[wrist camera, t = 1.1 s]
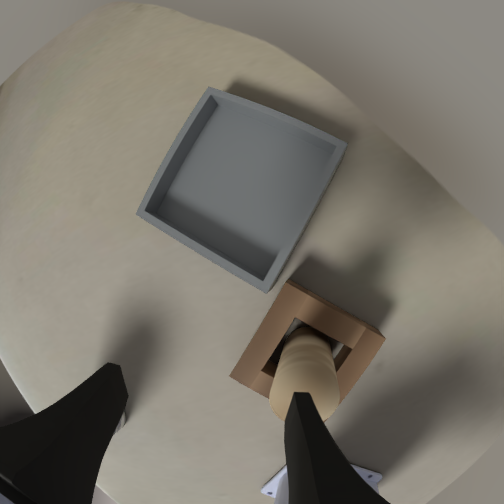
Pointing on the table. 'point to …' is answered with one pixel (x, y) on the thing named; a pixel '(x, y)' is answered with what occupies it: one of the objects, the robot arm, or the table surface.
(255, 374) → the frame
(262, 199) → the tray
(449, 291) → the table surface
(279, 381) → the dowel
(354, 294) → the table surface
